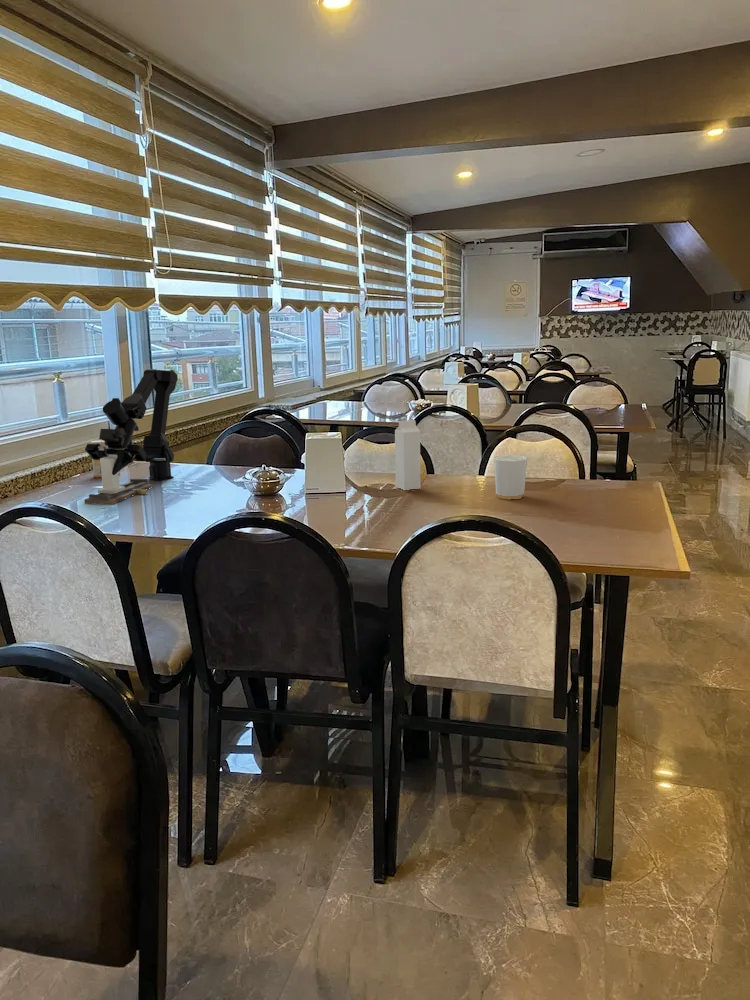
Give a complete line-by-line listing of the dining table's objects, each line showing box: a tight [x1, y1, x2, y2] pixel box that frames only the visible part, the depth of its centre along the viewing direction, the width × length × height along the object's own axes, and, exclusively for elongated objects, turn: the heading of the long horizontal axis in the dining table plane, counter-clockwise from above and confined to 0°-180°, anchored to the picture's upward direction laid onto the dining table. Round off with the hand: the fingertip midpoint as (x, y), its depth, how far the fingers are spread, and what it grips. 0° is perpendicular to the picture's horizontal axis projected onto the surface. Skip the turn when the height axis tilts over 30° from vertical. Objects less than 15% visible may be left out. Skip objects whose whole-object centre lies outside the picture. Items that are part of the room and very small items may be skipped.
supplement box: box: [89, 439, 121, 478], centre depth 275 cm, size 8×5×13 cm, turn 84°
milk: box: [394, 419, 421, 490], centre depth 242 cm, size 6×6×22 cm
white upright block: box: [96, 457, 125, 496], centre depth 239 cm, size 6×6×12 cm
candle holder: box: [493, 454, 528, 496], centre depth 229 cm, size 10×10×12 cm
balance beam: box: [84, 478, 154, 505], centre depth 244 cm, size 25×16×3 cm, turn 167°
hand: (107, 474), depth 237 cm, fingers closed on white upright block, 4 cm apart
